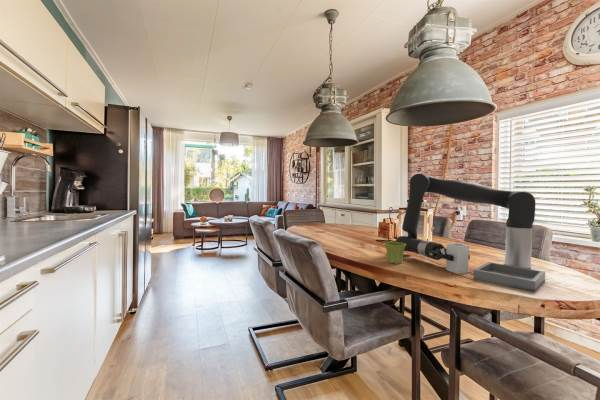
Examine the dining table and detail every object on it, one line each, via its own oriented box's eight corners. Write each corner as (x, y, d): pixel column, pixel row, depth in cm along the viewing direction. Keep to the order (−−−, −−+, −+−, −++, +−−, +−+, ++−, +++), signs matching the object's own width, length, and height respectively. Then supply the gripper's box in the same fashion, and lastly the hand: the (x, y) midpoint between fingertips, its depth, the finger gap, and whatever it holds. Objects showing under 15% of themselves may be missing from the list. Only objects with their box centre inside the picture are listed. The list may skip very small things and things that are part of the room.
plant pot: (391, 265, 124) (392, 246, 124) (380, 260, 133) (380, 242, 133) (410, 264, 127) (410, 245, 126) (397, 259, 136) (397, 241, 136)
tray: (488, 270, 118) (488, 262, 118) (544, 281, 105) (545, 271, 105) (473, 278, 107) (473, 269, 106) (534, 292, 93) (535, 281, 93)
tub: (456, 269, 120) (457, 243, 120) (468, 272, 115) (468, 245, 114) (446, 270, 118) (446, 243, 118) (457, 273, 113) (458, 246, 113)
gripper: (418, 242, 127) (448, 249, 112) (443, 240, 132) (474, 247, 117) (417, 258, 128) (447, 268, 112) (442, 256, 132) (474, 265, 117)
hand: (461, 257), depth 115 cm, fingers open, 8 cm apart
